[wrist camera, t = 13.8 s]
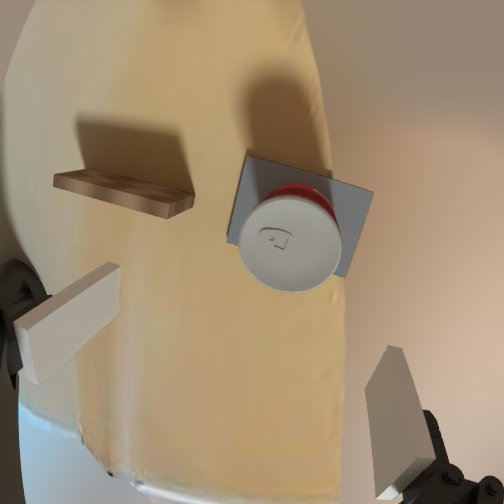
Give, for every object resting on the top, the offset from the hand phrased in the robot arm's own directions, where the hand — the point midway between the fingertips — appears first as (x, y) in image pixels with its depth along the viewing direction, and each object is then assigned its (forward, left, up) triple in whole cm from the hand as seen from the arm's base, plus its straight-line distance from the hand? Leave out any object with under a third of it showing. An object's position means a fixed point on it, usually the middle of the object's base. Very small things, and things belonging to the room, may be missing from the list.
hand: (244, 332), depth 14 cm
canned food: (+1, +1, -22) cm, 22 cm away
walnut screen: (-19, 0, -23) cm, 30 cm away
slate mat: (+1, +1, -23) cm, 23 cm away
